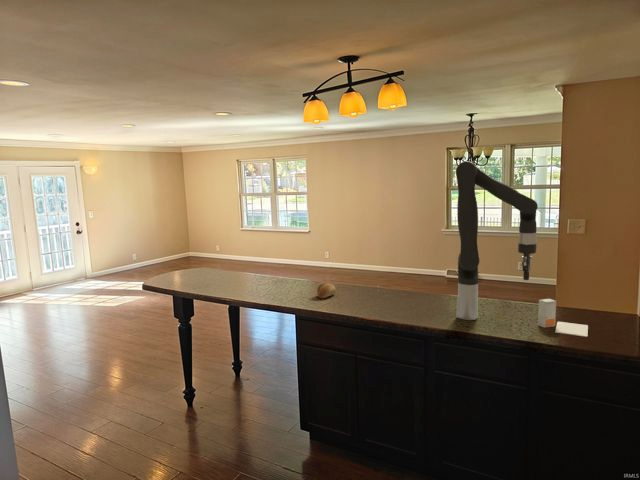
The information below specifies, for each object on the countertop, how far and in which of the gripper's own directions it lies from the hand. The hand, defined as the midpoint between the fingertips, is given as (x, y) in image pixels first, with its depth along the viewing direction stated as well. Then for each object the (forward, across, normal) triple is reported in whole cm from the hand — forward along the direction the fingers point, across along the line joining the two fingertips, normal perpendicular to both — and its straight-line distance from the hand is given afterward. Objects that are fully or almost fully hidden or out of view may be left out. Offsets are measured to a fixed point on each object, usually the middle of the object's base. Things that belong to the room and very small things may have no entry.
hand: (526, 279), depth 198 cm
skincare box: (+21, 0, +9) cm, 23 cm away
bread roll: (+20, +1, -108) cm, 110 cm away
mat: (+21, 0, +19) cm, 28 cm away
